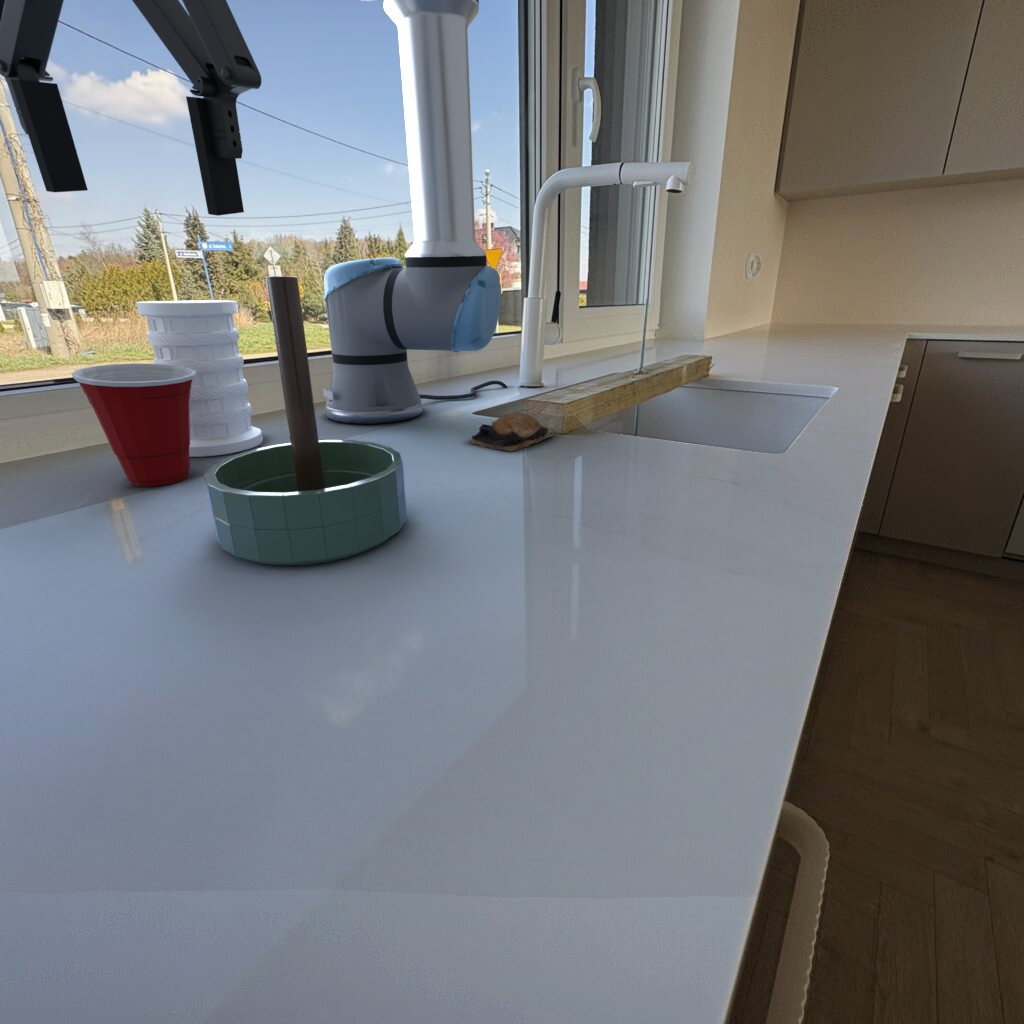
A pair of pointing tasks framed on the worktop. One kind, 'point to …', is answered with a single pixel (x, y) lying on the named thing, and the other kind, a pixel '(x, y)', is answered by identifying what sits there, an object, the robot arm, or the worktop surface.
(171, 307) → the decorative container
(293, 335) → the stirring stick
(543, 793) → the worktop surface
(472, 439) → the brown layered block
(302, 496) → the bowl
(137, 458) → the plastic cup
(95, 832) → the worktop surface
